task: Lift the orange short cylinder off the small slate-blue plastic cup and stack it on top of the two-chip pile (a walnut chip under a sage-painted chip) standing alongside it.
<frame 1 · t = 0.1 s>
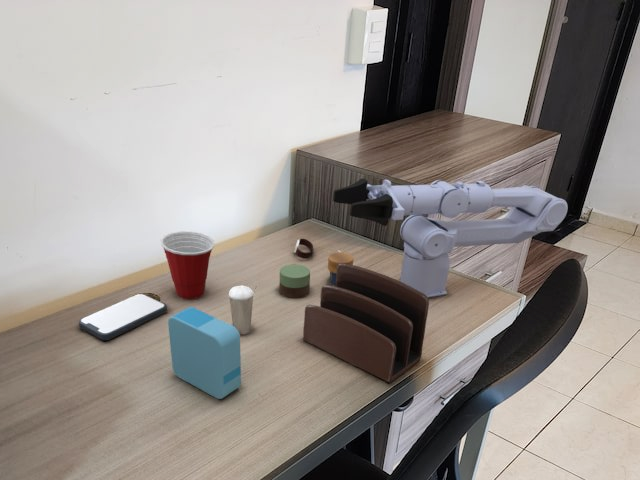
hand: (342, 202, 116), 22 cm above the table, tool horizontal, fingers open, 7 cm apart
small cup: (339, 281, 136), on the table
orange short cylinder: (340, 268, 135), point 3 cm above the table, touching small cup
sage chip: (294, 281, 131), point 2 cm above the table, touching walnut chip
data package: (206, 383, 105), on the table
plastic cup: (191, 293, 131), on the table
milkshake: (244, 331, 119), on the table
letter holder: (360, 351, 114), on the table
walnut chip: (294, 291, 132), on the table, touching sage chip
smartphone: (124, 320, 122), on the table
watch: (303, 254, 148), on the table
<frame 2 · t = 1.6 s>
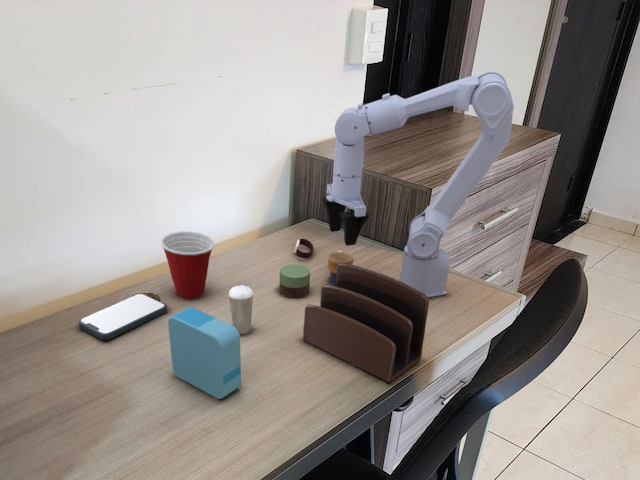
hand: (342, 237, 131), 10 cm above the table, tool pointing down, fingers open, 7 cm apart
nothing on the table moved.
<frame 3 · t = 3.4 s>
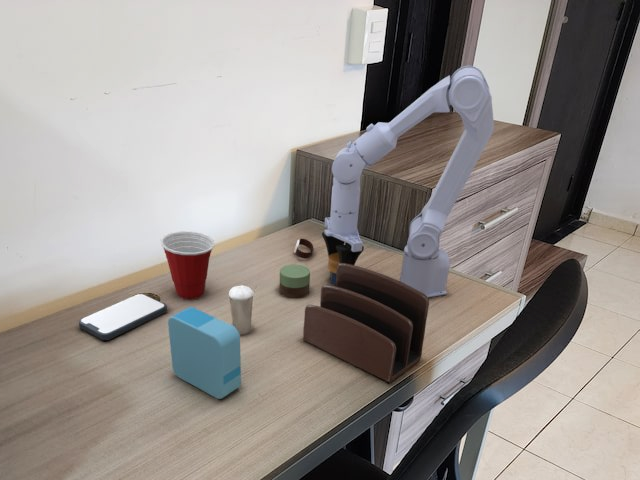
hand: (340, 269, 135), 3 cm above the table, tool pointing down, fingers closed on orange short cylinder, 5 cm apart
orange short cylinder: (340, 268, 135), point 3 cm above the table, touching gripper, small cup
everything else where it was.
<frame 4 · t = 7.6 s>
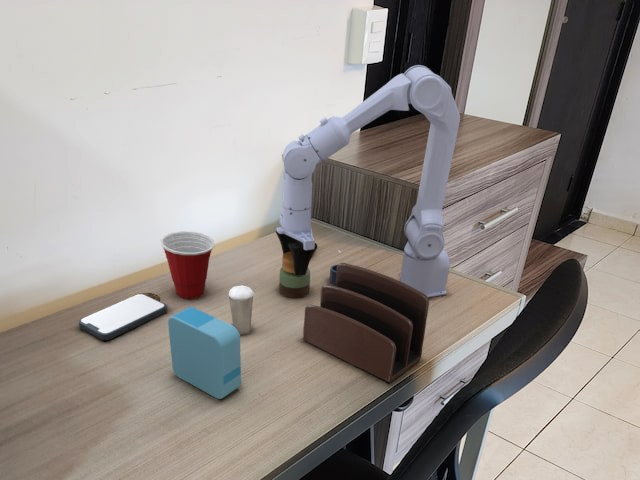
hand: (295, 268, 129), 5 cm above the table, tool pointing down, fingers closed on orange short cylinder, 5 cm apart
orange short cylinder: (295, 267, 129), point 6 cm above the table, touching gripper
everything else where it was.
when the fingers open (6 cm above the table, at t = 13.1 s): orange short cylinder stays where it is, resting on sage chip.
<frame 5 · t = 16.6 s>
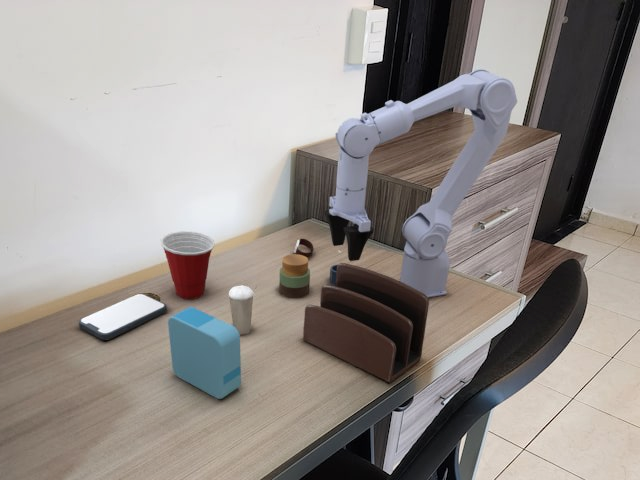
hand: (345, 252, 126), 10 cm above the table, tool pointing down, fingers open, 7 cm apart
orange short cylinder: (295, 271, 130), point 5 cm above the table, touching sage chip
sage chip: (294, 281, 131), point 2 cm above the table, touching orange short cylinder, walnut chip
everything else where it was.
at the end: orange short cylinder 0.1 cm off-centre on the walnut chip, point 4.8 cm above the walnut chip's base; orange short cylinder touching sage chip; orange short cylinder tilted 0° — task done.
